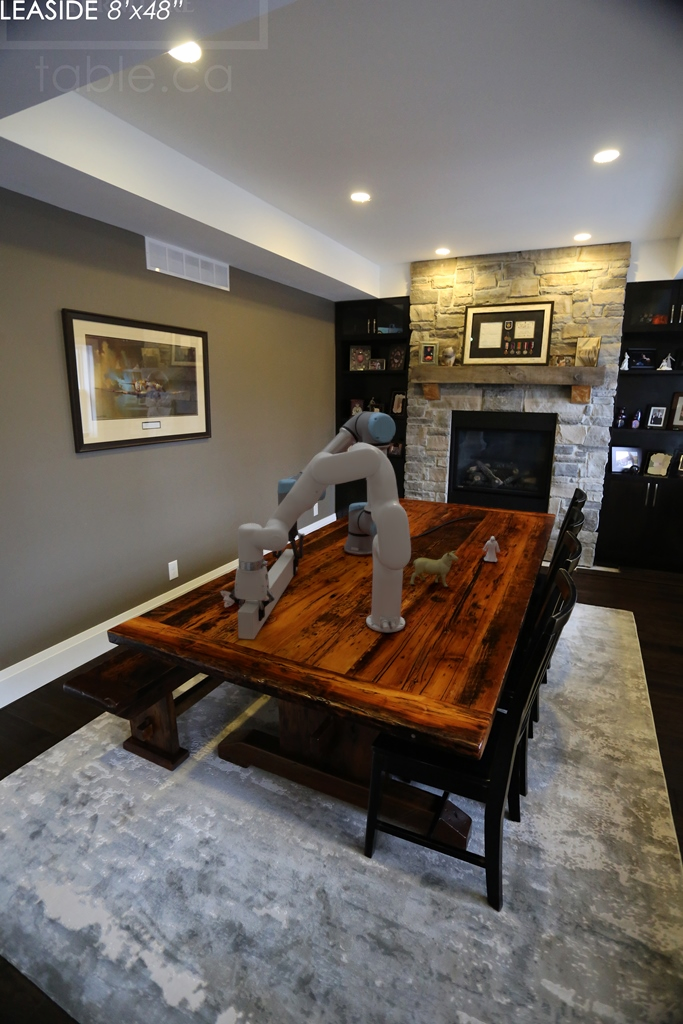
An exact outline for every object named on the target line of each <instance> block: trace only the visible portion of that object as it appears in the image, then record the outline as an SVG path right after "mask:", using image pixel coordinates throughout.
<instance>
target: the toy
mask: <svg viewBox="0 0 683 1024" xmlns="http://www.w3.org/2000/svg"><path fill="white" fill-rule="evenodd" d="M457 552H458V550H452V551H450V552H446V553H444V555H443V556H442V557H441V558H440V559H431V558H427V557H418V558H417V559H416V558H415V559H414V560H413V568H414V572H412V574H411V578H410V581H409V584H410V585H411V586H415V584H416V583H415V582H414V581H415V578H416V577H417V576H418V577H420V579H421V580H422V582H426V578H425V576H424V575H423V574H426V575H428V576H435V578H434V583H435V584H439V581H438V580H439V578H441V581H442V585H443V587H444V588H446V589H447V588H449V585H448V584H447V582H446V580H447V579H446V577H447V575H448V574H449V572H450V570H451V567H452V563H453V561H454V562H458V561H459V557H458V556H457V555H455V554H456V553H457Z"/></svg>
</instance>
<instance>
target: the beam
mask: <svg viewBox="0 0 683 1024" xmlns="http://www.w3.org/2000/svg"><path fill="white" fill-rule="evenodd" d="M294 558H295V557H294V553H293V549H292V548H286V549H285V550H284V551H282V555H281V556H280V558H279V559H278V560H277V559H276V562H275V563H274V564H273V565H272V566H271V568H270V569H269V571H267V572H268V578H269V588H270V591H271V592H272V594H273V595H274V596H275V600H274V601H272V602H271V603H269V604H268V605H267V606H266V607H265V617H264V618H263V619H262V621H259V613H258V610H259V608H260V606H259V603H258V601H257V600H245V603H244V604H243V605H242V607H241V608H239V609H238V611H237V631H238V633H237V635H238V639H243V640H244V639H245V640H255V639H256V636H257V635H258V633H259V632H260V630H261V629H262V627H263V625H264V624H265V622H266V621H267V619H268V618H269V616H270V615H271V613H272V611H273V610H274V608H275V606H276V605H277V603H278V602H279V600H280V598H281V597H282V595H283V593H284V592H285V590H286V589H287V587H288V586H289V585H290V582H291V580H292V579H293V578H294V576H295V575H293V559H294ZM297 571H298V567H296V572H297ZM267 599H269V597H268V596H266V599H265V601H266V600H267Z"/></svg>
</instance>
